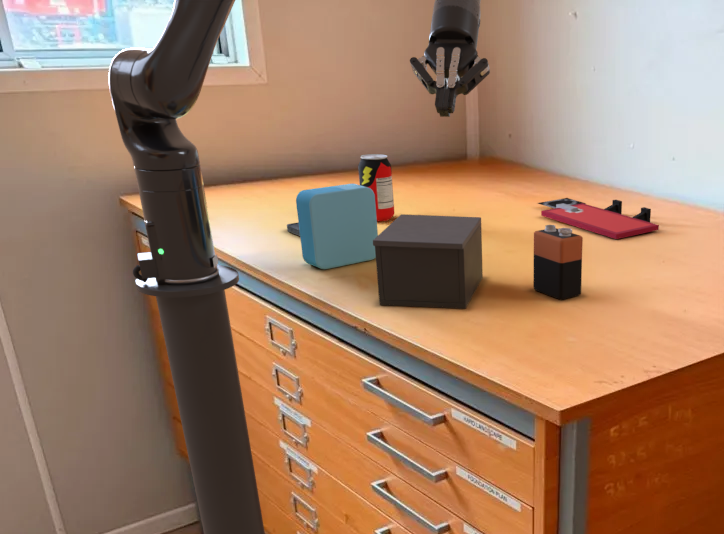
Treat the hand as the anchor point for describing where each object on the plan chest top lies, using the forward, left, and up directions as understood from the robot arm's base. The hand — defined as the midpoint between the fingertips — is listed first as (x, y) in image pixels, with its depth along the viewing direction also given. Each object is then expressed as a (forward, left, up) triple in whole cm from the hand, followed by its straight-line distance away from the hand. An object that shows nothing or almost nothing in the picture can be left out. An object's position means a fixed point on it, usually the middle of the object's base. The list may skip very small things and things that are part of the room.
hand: (444, 113), depth 134 cm
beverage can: (-2, +38, -24) cm, 45 cm away
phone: (-15, +28, -24) cm, 40 cm away
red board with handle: (+38, +22, -24) cm, 50 cm away
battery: (+10, -20, -24) cm, 33 cm away
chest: (-7, -12, -24) cm, 28 cm away
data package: (-16, +9, -24) cm, 30 cm away
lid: (-7, -13, -15) cm, 21 cm away
